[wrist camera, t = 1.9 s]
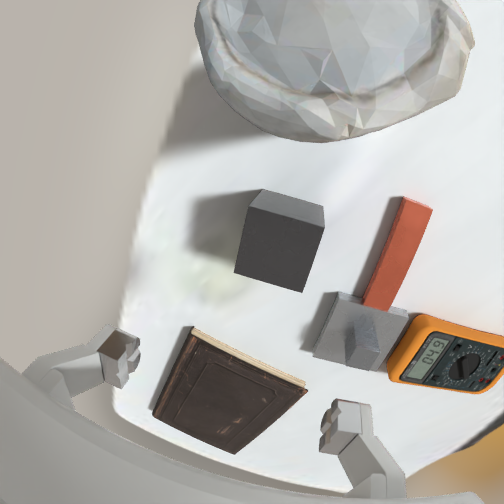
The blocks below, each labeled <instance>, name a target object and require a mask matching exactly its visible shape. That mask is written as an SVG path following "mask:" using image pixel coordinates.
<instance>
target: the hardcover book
mask: <svg viewBox="0 0 504 504" xmlns="http://www.w3.org/2000/svg"><path fill="white" fill-rule="evenodd" d="M194 327H195V326H193V327H192V328H191V330H190V332H189V334H188V336H187V339H186V341H185V343H184V345H183V347H182V349H181V351H180V353H179V356H178V358H177V360H176V362H175V364H174V366H173V369H172V371H171V373H170V375H169V377H168V379H167V382H166V384H165V386H164V388H163V390H162V392H161V395H160V397H159V399H158V401H157V403H156V406H155V408H154V410H153V412H152V415H153V417H155V418H156V419H158V420H160V421H162V422H164V423H166V424H168V425H170V426H172V427H174V428H176V429H178V430H180V431H182V432H184V433H186V434H188V435H190V436H192V437H194V438H196V439H199V440H201V441H203V442H205V443H207V444H210V445H212V446H214V447H217V448H219V449H222V450H224V451H226V452H229V453H231V454H234V455H235V454H236V453H237V452H239V451H240V450H241V449H242V448H244V447H245V446H246V445H247V444H249V443H250V442H251V441H252V440H254V439H255V438H256V437H257V436H259V435H260V434H261V433H262V432H263V431H265V430H266V429H267V428H268V427H269V426H270V425H272V424H273V423H274V422H275V421H276V420H277V419H278V418H280V417H281V416H282V415H283V414H284V413H285V412H286V411H287V410H289V409H290V408H291V407H292V406H293V405H294V404H295V403H296V402H297V401H298V400H299V399H300V398H301V397H303V396H304V395H305V394H306V393H307V392H308V390H307V389H305V387H304V386H305V385H306V384H305V381H302V380H300V379H298V378H295V377H293V376H291V375H289V374H286V373H284V372H282V371H280V370H278V369H275V368H273V367H271V366H269V365H267V364H265V363H263V362H260V361H258V360H256V359H254V358H252V357H250V356H248V355H246V354H244V353H242V352H240V351H238V350H236V349H234V348H232V347H230V346H228V345H226V344H224V343H222V342H220V341H218V340H216V339H214V338H213V337H211V336H209V335H207V334H205V333H203V332H201V331H199V330H198V329H196V328H194Z"/></svg>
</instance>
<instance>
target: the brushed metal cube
mask: <svg viewBox="0 0 504 504" xmlns="http://www.w3.org/2000/svg"><path fill="white" fill-rule="evenodd" d="M324 228H325V224H324V211H323V206H321V205H317V204H314V203H311V202H307V201H304V200H300V199H297V198H293V197H290V196H286V195H283V194H279V193H276V192H272V191H268V190H265V189H262V191H261V192H260V193H259V194H258V195H257V197H256V198H255V199H254V200H253V201H252V202H251V204H250V205H249V207H248V211H247V215H246V220H245V224H244V229H243V233H242V238H241V242H240V247H239V251H238V256H237V260H236V265H235V269H234V273H236V274H240V275H243V276H246V277H250V278H253V279H256V280H260V281H263V282H266V283H270V284H273V285H277V286H280V287H283V288H287V289H290V290H294V291H297V292H301V293H302V292H303V290H304V287H305V284H306V281H307V278H308V275H309V273H310V270H311V267H312V264H313V261H314V258H315V255H316V252H317V249H318V246H319V243H320V240H321V237H322V234H323V231H324Z"/></svg>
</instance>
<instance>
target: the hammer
mask: <svg viewBox="0 0 504 504" xmlns="http://www.w3.org/2000/svg"><path fill="white" fill-rule="evenodd" d="M432 211H433V209H431V208H430V207H429V206H427V205H424V204H422V203H419V202H417V201H414V200H411V199H409V198H406V197H404V196H403V198H402V201H401V204H400V207H399V210H398V213H397V215H396V218H395V221H394V223H393V226H392V229H391V231H390V234H389V237H388V239H387V242H386V244H385V247H384V249H383V252H382V254H381V256H380V259H379V261H378V264H377V266H376V268H375V271H374V273H373V275H372V278H371V280H370V282H369V284H368V287H367V289H366V291H365V293H364V295H363V297H362V298H360V297H356V296H353V295H349V294H346V293H342V292H338V295H337V297H336V299H335V302H334V304H333V306H332V309H331V311H330V313H329V315H328V318H327V320H326V322H325V324H324V327H323V329H322V331H321V333H320V335H319V337H318V340H317V342H316V344H315V346H314V348H313V357H316V358H320V359H324V360H328V361H332V362H336V363H340V364H344V365H346V366H349V367H353V368H358V369H362V370H367V371H369V370H372V371H377V370H378V368H379V367H380V365H381V364H382V362H383V361H384V359H385V358H386V356H387V354H388V353H389V351H390V350H391V348H392V347H393V345H394V343H395V342H396V340H397V338H398V337H399V335H400V333H401V332H402V330H403V328H404V327H405V325H406V323H407V321H408V320H409V316H408V313H407V311H406V310H403V309H399V308H396V307H392V306H391V304H392V302H393V300H394V298H395V296H396V294H397V292H398V290H399V288H400V286H401V284H402V282H403V280H404V278H405V276H406V274H407V271H408V269H409V267H410V265H411V263H412V260H413V258H414V256H415V253H416V251H417V249H418V246H419V244H420V242H421V239H422V237H423V234H424V232H425V229H426V227H427V224H428V222H429V219H430V216H431V214H432Z"/></svg>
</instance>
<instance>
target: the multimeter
mask: <svg viewBox="0 0 504 504" xmlns="http://www.w3.org/2000/svg"><path fill="white" fill-rule="evenodd" d="M387 371H388V377H389V379H390V380H391V381H393V382H397V383H404V384H411V385H418V386H425V387H431V388H437V389H444V390H451V391H457V392H463V393H470V394H481V393H484V392H486V391H488V390H489V389H490V388H492V387H493V386H494V385H495V384H496V383H497V381H498V380H499V379H500V378H501V377H502V375H503V374H504V337H503V336H499V335H495V334H490V333H486V332H482V331H478V330H474V329H471V328H467V327H464V326H460V325H457V324H453V323H450V322H447V321H444V320H441V319H438V318H435V317H432V316H429V315H425V314H421V315H418V316H417V317H415V319H414V320H413V321H412V323H411V325H410V326H409V328H408V330H407V331H406V333H405V334H404V336H403V338H402V339H401V341H400V342H399V344H398V346H397V347H396V349H395V350H394V352H393V353H392V355H391V356H390V358H389V359H388V362H387Z"/></svg>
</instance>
